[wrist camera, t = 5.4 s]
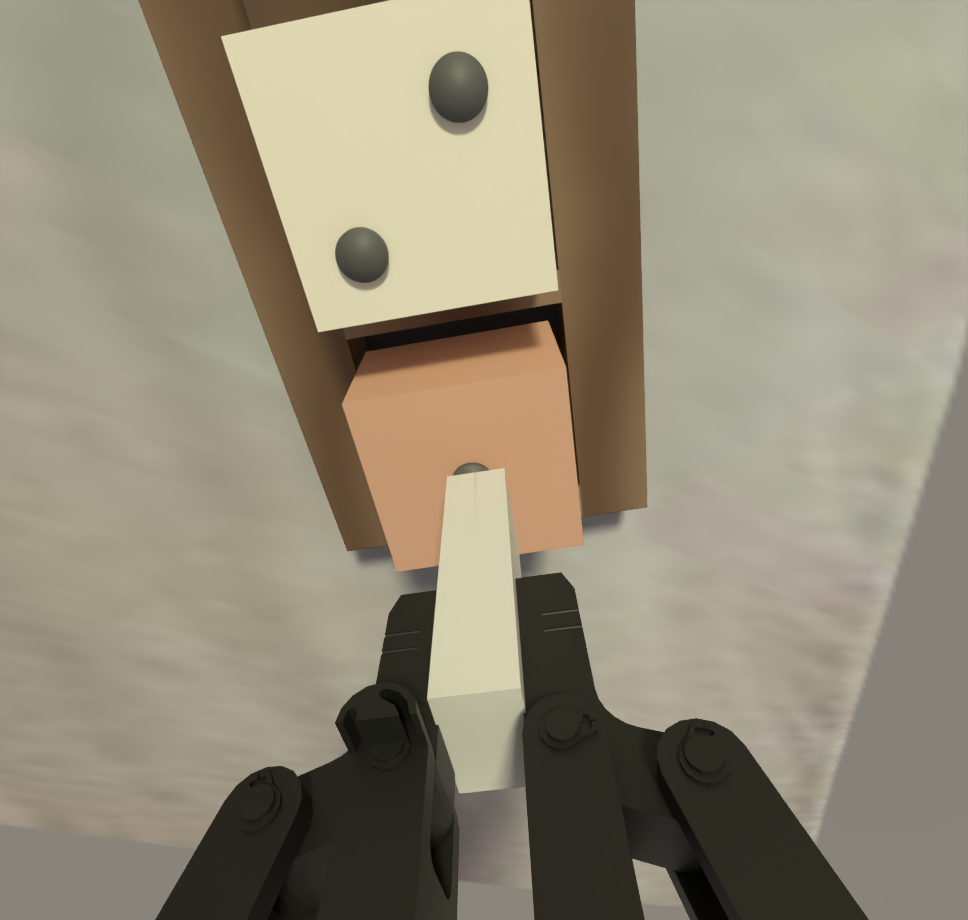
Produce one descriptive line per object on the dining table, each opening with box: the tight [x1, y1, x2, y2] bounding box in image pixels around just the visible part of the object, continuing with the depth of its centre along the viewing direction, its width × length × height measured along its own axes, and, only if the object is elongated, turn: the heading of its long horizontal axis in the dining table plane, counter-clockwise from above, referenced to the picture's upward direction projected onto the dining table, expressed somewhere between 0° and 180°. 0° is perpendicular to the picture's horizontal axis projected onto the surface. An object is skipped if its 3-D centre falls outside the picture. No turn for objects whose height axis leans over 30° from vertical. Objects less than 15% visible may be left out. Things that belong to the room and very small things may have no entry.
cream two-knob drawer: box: [221, 0, 558, 332], centre depth 14 cm, size 6×6×4 cm
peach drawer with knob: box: [342, 321, 584, 572], centre depth 18 cm, size 6×6×4 cm
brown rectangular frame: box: [138, 0, 647, 551], centre depth 17 cm, size 12×26×2 cm, turn 10°
